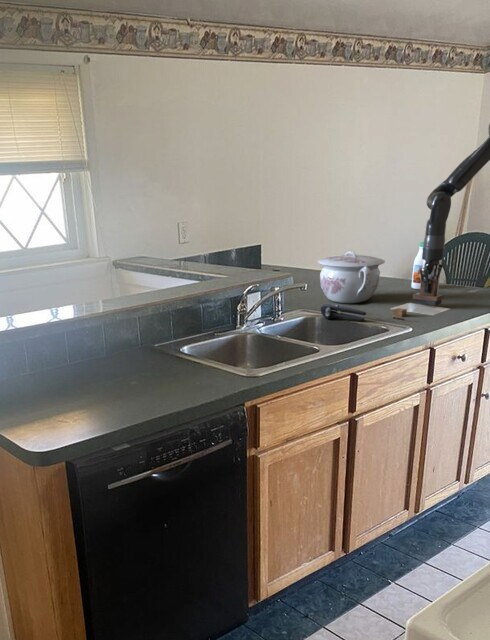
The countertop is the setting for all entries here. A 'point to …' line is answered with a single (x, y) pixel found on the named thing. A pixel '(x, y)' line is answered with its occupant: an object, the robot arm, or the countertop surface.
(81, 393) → the countertop surface
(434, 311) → the tile
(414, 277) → the milk bottle
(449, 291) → the countertop surface
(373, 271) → the chamber pot
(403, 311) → the cork block
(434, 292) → the brown branching block
